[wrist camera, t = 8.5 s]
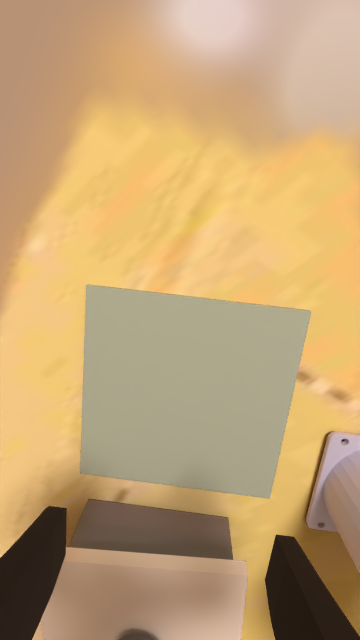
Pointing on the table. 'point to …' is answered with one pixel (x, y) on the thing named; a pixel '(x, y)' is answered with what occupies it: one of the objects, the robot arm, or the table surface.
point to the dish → (152, 531)
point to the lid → (145, 597)
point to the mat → (187, 389)
